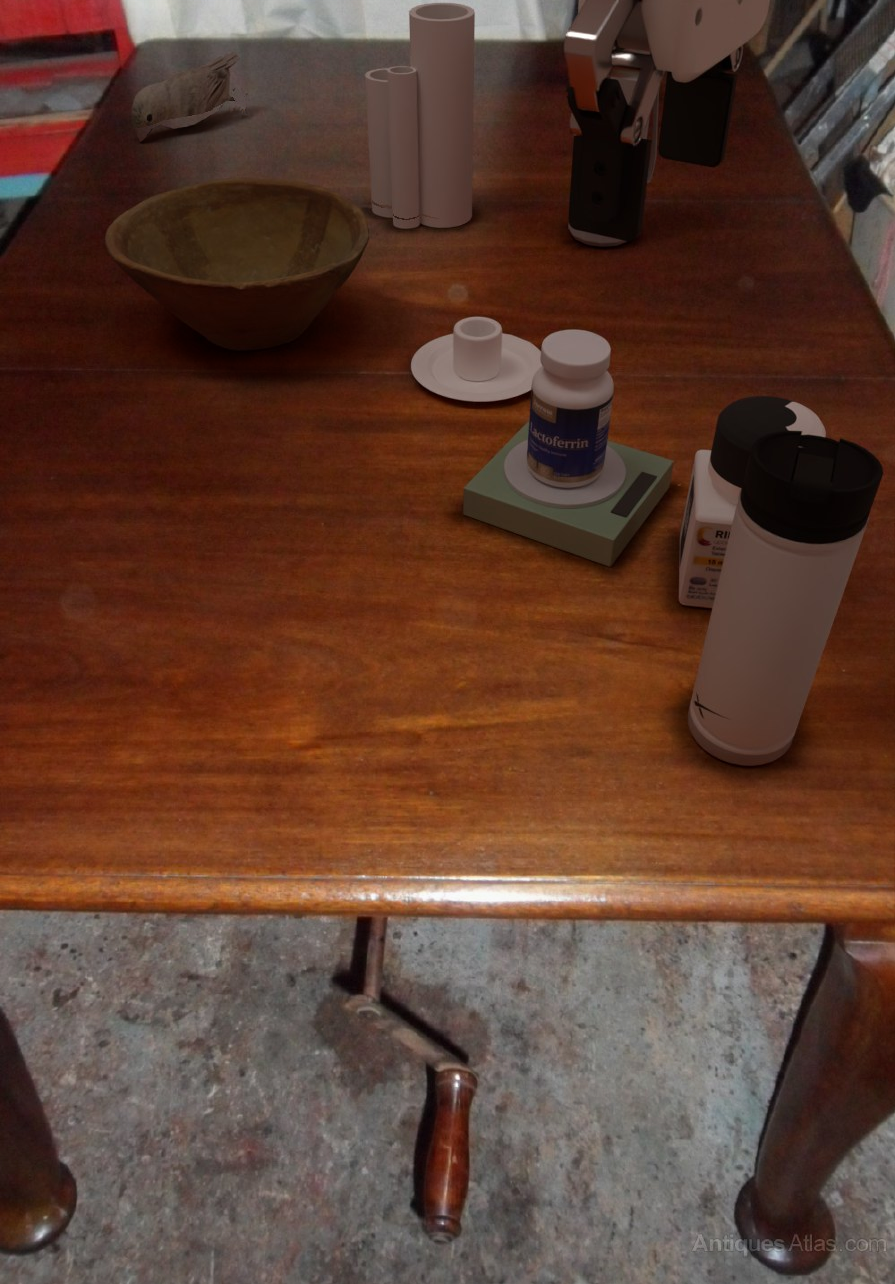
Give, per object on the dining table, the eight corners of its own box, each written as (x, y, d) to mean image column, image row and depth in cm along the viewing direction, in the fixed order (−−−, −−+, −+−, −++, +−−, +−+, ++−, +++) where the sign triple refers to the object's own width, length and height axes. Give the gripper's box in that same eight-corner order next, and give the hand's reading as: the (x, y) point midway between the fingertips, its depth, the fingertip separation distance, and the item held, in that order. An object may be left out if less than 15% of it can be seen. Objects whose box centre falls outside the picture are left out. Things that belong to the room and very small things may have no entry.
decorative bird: (127, 137, 135) (114, 74, 130) (232, 108, 143) (224, 47, 138) (149, 149, 132) (137, 84, 127) (255, 119, 140) (248, 57, 135)
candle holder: (530, 333, 99) (532, 289, 96) (561, 401, 90) (565, 355, 87) (402, 344, 97) (400, 300, 94) (422, 415, 89) (421, 368, 86)
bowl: (240, 423, 88) (222, 311, 81) (83, 332, 99) (55, 226, 92) (422, 327, 100) (419, 222, 93) (263, 255, 111) (250, 156, 104)
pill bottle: (515, 480, 77) (521, 357, 70) (539, 439, 81) (548, 318, 74) (591, 498, 76) (605, 374, 69) (612, 455, 80) (628, 333, 73)
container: (677, 607, 72) (710, 444, 63) (679, 536, 77) (709, 377, 68) (795, 619, 71) (845, 456, 62) (787, 547, 76) (833, 387, 67)
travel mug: (676, 755, 63) (741, 476, 49) (697, 679, 67) (762, 403, 53) (784, 784, 61) (883, 504, 47) (798, 704, 65) (892, 426, 51)
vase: (473, 204, 120) (476, 3, 106) (469, 230, 115) (472, 23, 101) (374, 201, 121) (364, 0, 107) (365, 227, 116) (354, 21, 102)
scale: (669, 487, 82) (675, 456, 80) (610, 567, 75) (614, 535, 73) (530, 442, 86) (532, 411, 84) (462, 514, 79) (463, 483, 77)
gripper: (721, -291, 30) (649, 286, 42) (883, -315, 41) (790, 150, 53) (490, -294, 33) (484, 247, 45) (698, -316, 44) (649, 126, 55)
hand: (649, 194), depth 49 cm, fingers open, 9 cm apart
